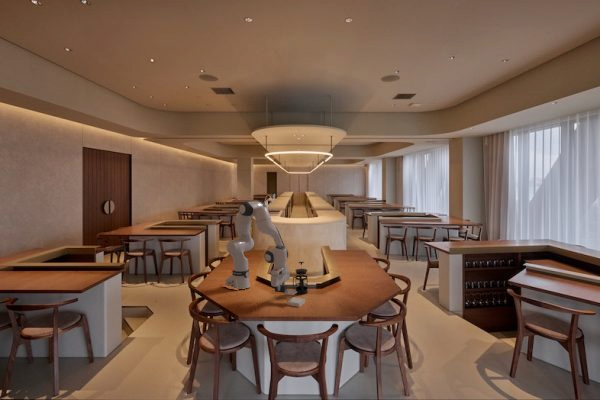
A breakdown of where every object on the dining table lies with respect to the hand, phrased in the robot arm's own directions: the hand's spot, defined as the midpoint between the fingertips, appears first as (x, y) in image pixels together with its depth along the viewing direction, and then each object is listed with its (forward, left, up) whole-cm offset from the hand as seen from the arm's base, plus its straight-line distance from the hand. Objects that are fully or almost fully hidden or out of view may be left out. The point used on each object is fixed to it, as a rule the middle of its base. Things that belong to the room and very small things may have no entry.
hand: (280, 289), depth 215 cm
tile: (+7, 0, -7) cm, 10 cm away
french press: (+5, +21, -8) cm, 23 cm away
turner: (+4, 0, -2) cm, 4 cm away
